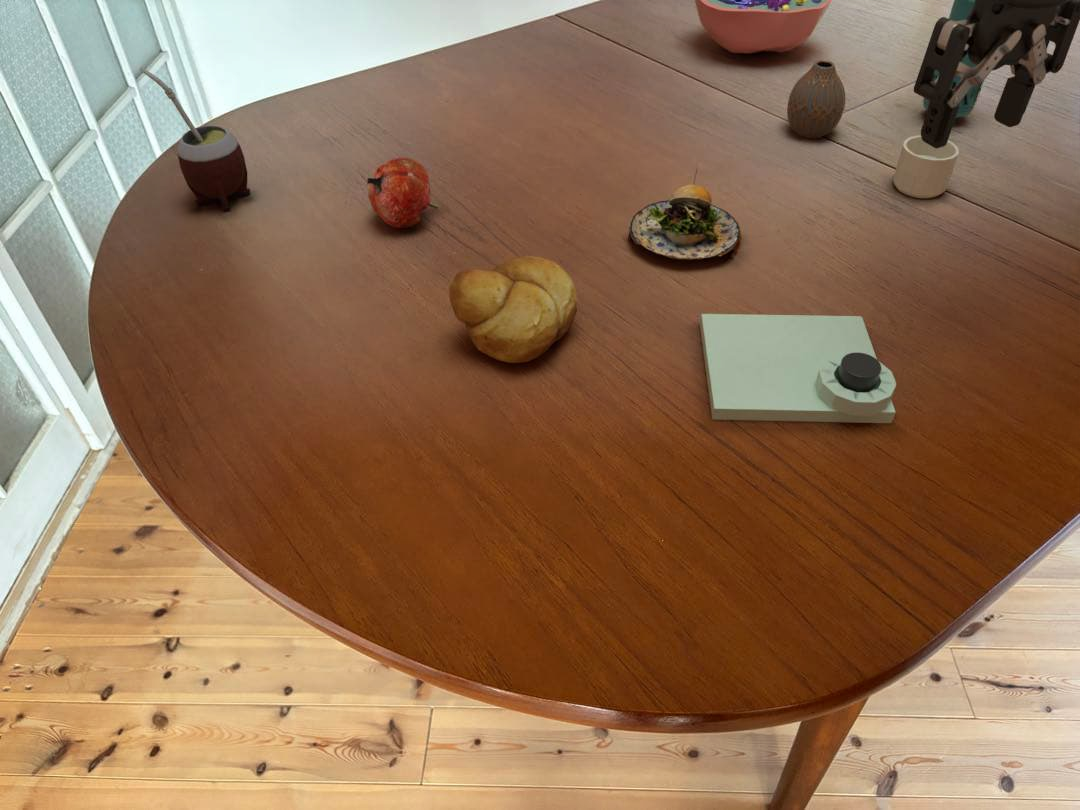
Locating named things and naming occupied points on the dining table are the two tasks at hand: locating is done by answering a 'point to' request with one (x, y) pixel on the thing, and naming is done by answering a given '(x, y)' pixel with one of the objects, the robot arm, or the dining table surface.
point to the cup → (924, 168)
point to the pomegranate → (400, 192)
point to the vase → (816, 101)
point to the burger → (686, 226)
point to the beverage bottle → (960, 12)
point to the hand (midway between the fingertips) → (969, 133)
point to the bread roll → (515, 307)
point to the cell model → (760, 23)
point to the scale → (789, 369)
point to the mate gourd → (209, 159)
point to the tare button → (859, 372)
